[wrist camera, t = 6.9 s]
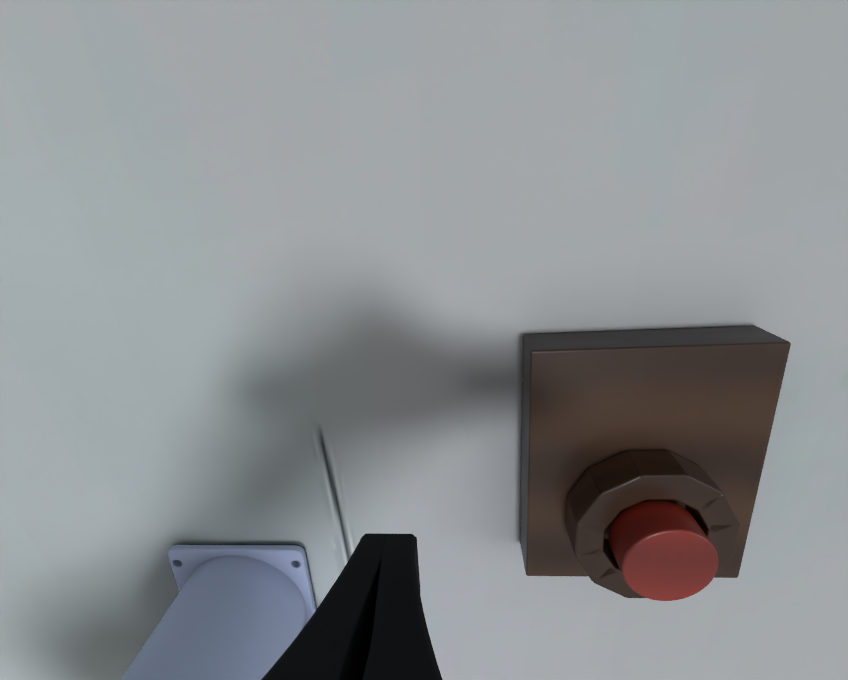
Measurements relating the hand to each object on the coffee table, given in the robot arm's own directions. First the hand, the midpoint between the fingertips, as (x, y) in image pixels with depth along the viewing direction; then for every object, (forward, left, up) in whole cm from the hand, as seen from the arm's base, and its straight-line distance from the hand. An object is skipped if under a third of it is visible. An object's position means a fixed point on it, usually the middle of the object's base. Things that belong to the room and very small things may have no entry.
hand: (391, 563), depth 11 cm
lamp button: (-5, -10, -7) cm, 13 cm away
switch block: (-3, -10, -10) cm, 15 cm away
